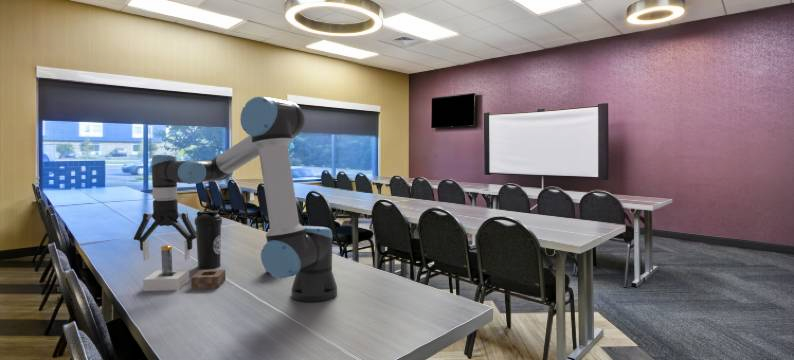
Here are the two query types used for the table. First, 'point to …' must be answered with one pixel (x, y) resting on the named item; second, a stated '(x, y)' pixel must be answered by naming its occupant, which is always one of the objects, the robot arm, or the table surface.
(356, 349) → the table surface
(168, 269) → the pin
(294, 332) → the table surface
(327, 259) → the robot arm
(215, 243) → the water bottle
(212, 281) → the mount block
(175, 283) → the dock block
